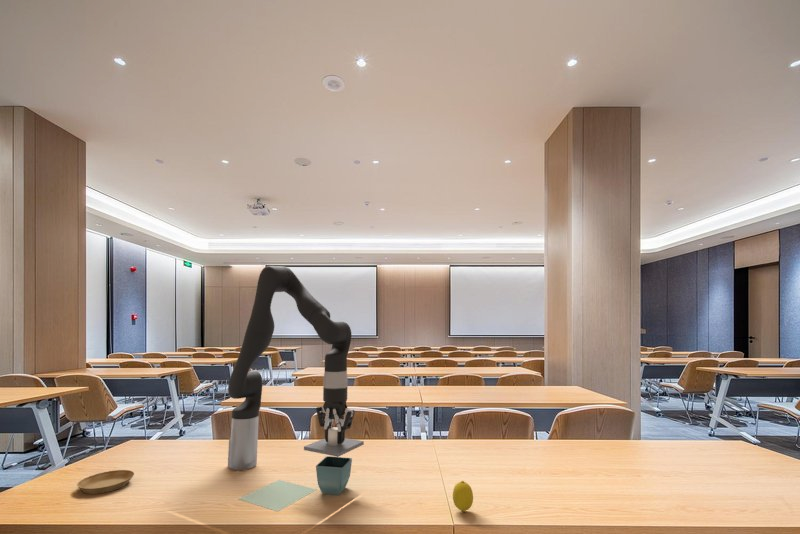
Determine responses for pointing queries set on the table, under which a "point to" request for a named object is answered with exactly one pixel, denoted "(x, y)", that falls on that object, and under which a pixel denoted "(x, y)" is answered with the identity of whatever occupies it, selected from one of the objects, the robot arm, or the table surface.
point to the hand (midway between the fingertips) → (334, 442)
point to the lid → (333, 444)
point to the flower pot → (333, 474)
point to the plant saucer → (105, 481)
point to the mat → (277, 495)
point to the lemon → (462, 496)
